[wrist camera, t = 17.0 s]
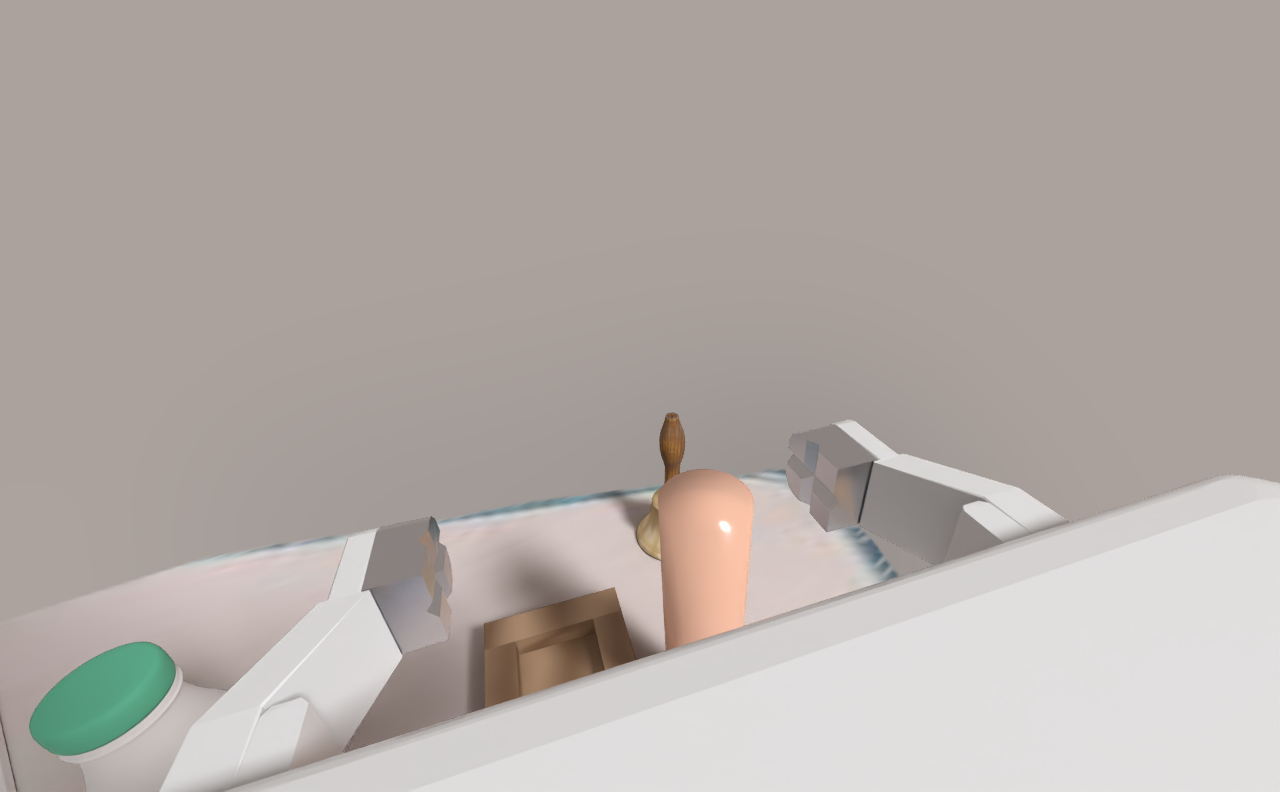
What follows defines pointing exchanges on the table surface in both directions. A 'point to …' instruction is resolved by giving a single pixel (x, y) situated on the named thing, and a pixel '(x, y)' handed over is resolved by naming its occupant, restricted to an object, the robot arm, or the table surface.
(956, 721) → the robot arm
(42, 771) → the table surface
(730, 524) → the tall peach cylinder
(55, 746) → the milk bottle
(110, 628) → the table surface
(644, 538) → the hand bell
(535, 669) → the pocket block
